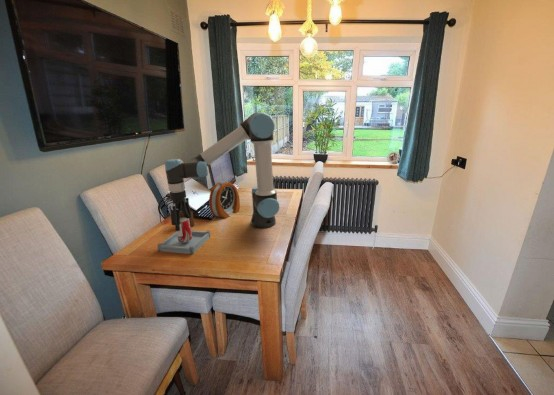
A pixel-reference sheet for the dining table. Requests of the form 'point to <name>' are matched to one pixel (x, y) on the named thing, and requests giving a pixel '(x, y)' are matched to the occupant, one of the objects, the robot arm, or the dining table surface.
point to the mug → (189, 218)
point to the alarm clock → (224, 199)
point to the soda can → (185, 230)
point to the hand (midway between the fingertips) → (184, 232)
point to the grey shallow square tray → (188, 247)
